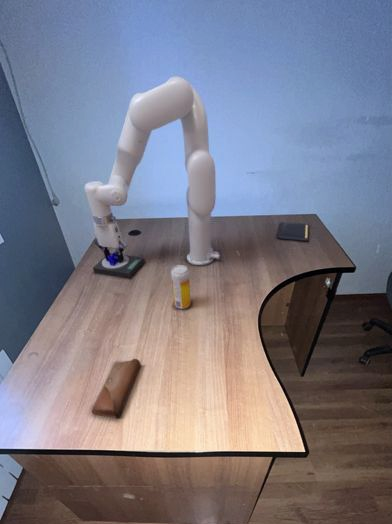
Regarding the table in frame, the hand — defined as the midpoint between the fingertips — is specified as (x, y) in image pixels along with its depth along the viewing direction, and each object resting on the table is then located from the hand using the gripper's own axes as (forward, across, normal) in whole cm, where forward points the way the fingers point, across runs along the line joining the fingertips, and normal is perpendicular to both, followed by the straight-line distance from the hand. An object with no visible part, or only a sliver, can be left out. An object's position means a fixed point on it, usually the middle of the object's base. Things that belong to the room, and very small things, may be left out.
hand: (115, 260), depth 118 cm
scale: (+3, -2, 0) cm, 4 cm away
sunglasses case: (+4, -34, +59) cm, 68 cm away
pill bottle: (+4, -38, +18) cm, 43 cm away
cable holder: (+1, 0, 0) cm, 1 cm away
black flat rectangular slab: (+4, -74, -56) cm, 92 cm away
